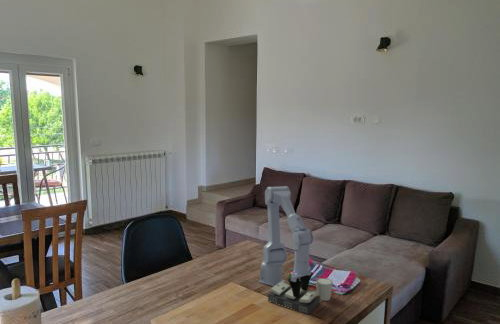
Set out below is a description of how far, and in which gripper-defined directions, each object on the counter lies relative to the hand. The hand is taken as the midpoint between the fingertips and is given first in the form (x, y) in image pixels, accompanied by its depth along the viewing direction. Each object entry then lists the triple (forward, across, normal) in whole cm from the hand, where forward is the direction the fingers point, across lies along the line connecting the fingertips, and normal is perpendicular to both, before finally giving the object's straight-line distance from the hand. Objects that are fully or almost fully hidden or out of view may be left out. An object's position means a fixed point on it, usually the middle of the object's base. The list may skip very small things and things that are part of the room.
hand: (300, 293), depth 146 cm
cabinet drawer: (+1, 0, -4) cm, 4 cm away
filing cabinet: (+5, 0, +3) cm, 5 cm away
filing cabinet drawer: (+1, 0, +3) cm, 3 cm away
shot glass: (+5, +12, -6) cm, 14 cm away
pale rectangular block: (+1, 0, +9) cm, 9 cm away
